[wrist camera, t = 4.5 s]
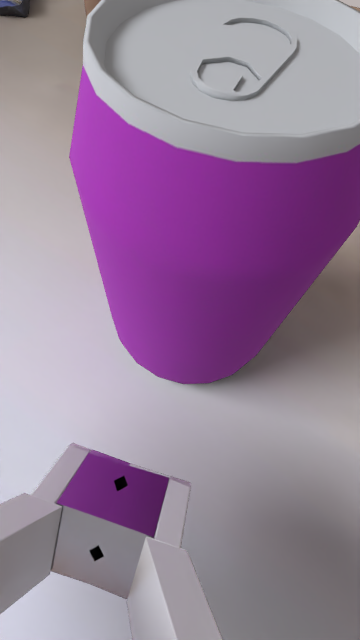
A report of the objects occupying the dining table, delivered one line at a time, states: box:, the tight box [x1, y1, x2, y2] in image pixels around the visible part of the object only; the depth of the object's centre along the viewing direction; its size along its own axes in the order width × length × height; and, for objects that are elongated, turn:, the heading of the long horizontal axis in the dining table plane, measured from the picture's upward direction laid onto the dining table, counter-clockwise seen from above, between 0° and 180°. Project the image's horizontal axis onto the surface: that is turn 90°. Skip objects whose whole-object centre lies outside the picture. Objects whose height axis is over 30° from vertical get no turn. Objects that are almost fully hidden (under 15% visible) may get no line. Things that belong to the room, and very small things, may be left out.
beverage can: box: [69, 0, 360, 384], centre depth 12 cm, size 8×8×12 cm
